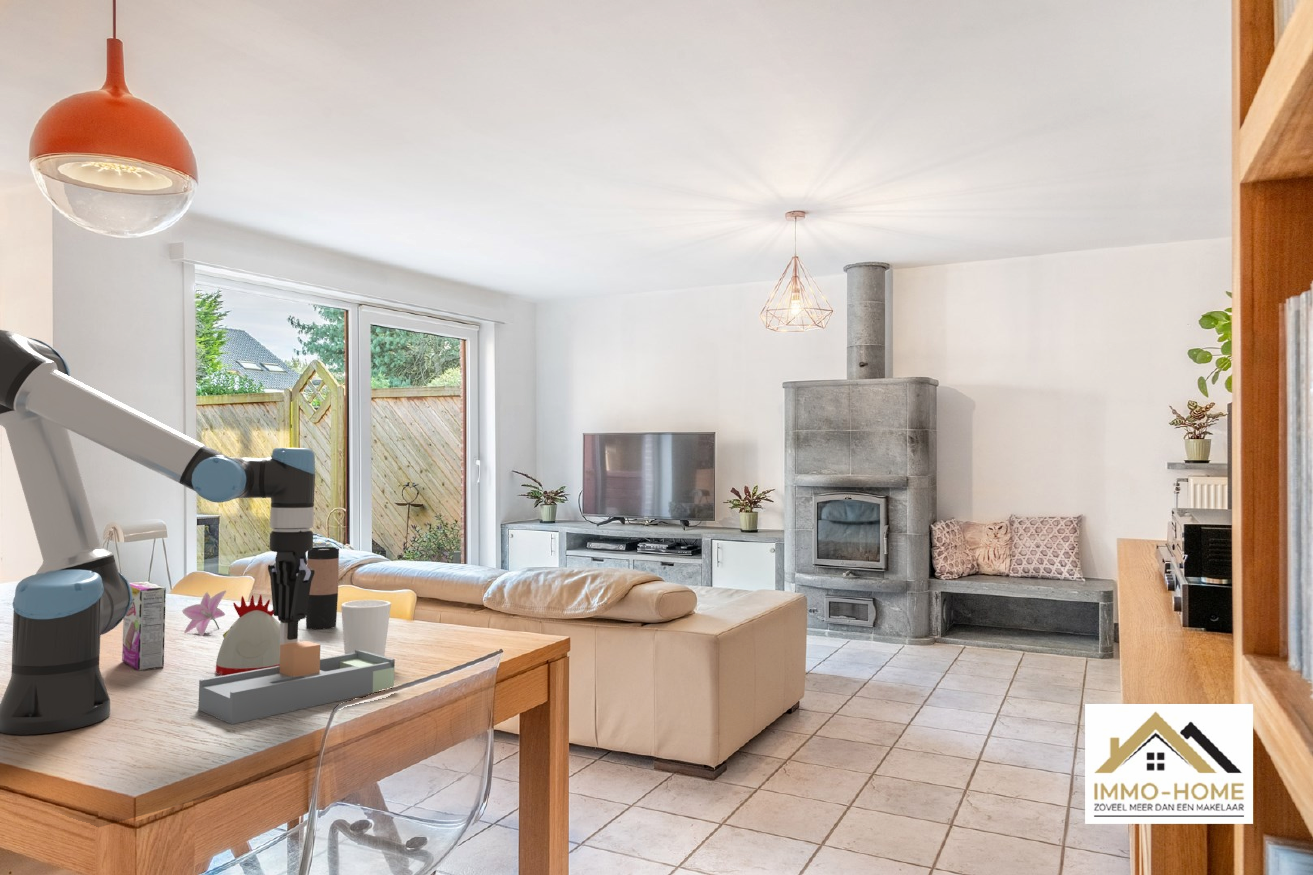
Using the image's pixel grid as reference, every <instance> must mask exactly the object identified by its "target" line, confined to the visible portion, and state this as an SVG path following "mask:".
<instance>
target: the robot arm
mask: <svg viewBox="0 0 1313 875" xmlns="http://www.w3.org/2000/svg"><path fill="white" fill-rule="evenodd" d="M0 426H2V428H4V429H5V432H6V436H7V440H8V443H9V447H10V449H11V454H12V457H13V460H14V464H15V467H16V471H17V474H18V477H19V481H20V485H21V487H22V490H23V491H22V492H23V495H24V498H25V502H26V504H27V509H28V513H29V516H30V519H31V522H32V527H33V529H34V532H35V536H36V539H37V540H36V541H37V543H38V546H39V550H40V554H41V556H42V564H41V565H40V566H39V568H38V570H37V571H36V572H35V574H32V575H30V576H29V575H28V576H27V577H24V578H23V579H22V580H20V581H19V582H18V583H17V585H16V586H15V592H14V597H13V600H12V608H13V616H12V617H13V618H12V619H13V620H12V646H11V648H12V649H11V675H10V679H9V682H8V684H7V687H6V688H5V692H4V693H3V696H2V698H1V701H0V733H3V734H7V735H19V736H20V735H40V734H51V733H52V734H53V733H57V732H64V731H70V730H75V729H79V728H84V727H87V726H90V725H94V724H96V723H99V722H101V721H103V720H105V719H107V718H109V717H110V715H111V699H110V698H111V697H110V695H109V693H108V690H107V687H106V684H105V682H104V678H103V675H102V673H101V670H100V669H101V668H100V655H101V636H103V635H105V634H107V633H109V632H110V631H112V630H114V629H116V627H117V626H118V625H119V624H120V623H121V622H123V618H124V617H125V616H126V614H127V613H128V611H129V609H130V606H131V603H132V590H131V586H130V584H129V583H130V582H129V581H128V579H127V578H126V577H125V575H123V574H122V573H120V572H119V569H118V566H117V562H116V558H115V556H114V553H113V552H112V551H109V550H108V549H106V548H104V547H102V546H101V543H100V539H99V536H98V532H97V528H96V525H95V522H94V518H93V515H92V511H91V508H90V505H89V501H88V498H87V494H86V490H85V486H84V484H83V479H82V477H81V473H80V469H79V467H78V466H79V465H78V463H77V459H76V458H77V457H76V455H75V452H74V448H73V444H72V441H71V438H70V434H69V431H70V432H73V433H75V434H77V435H79V436H81V437H84V438H85V439H88V441H89V440H90V441H91V442H93V443H96V444H98V445H100V446H102V447H104V448H107V449H108V450H110V451H112V452H115V453H117V454H118V455H121V456H123V457H124V458H127V459H129V460H131V461H133V462H135V463H136V464H139V465H141V466H143V467H146V468H148V469H149V470H152V471H154V472H156V473H158V474H160V475H161V476H164V477H166V478H168V479H170V480H172V481H174V482H177V483H178V484H180V485H182V486H184V487H185V488H188V489H189V490H191V491H195V493H196V494H197V495H198V496H200V497H201V498H202V499H204V500H206V501H208V502H209V501H210V502H212V503H218V504H219V503H226V502H229V501H232V500H235V499H270V502H271V503H270V509H269V510H270V516H269V517H270V518H269V520H270V522H269V528H270V529H272V530H271V532H270V533H269V550H270V552H273V553H274V552H275V553H276V555H275V558H274V559H275V561H274V563H273V564H268V565H267V571H268V574H269V578H270V590H271V602H272V610H273V617H277V619H278V620H277V621H278V622H279V623H280V645H282V644H289V643H295V642H299V641H298V640H299V622H300V621H301V620H306V612H307V606H308V600H309V594H310V587H311V581H312V579H313V576H314V573H315V571H314V569H308V567H307V553H308V551H310V550H312V548H314V531H312V530H310V529H312V528H313V527H314V516H315V511H314V510H315V508H314V506H315V489H316V488H315V486H316V456H315V455H316V454H315V452H314V451H313V450H312V449H310V448H305V447H274V448H273V450H272V454H271V455H270V457H259V458H258V457H239V456H238V457H234V456H231V457H230V456H227V455H225V454H223V453H222V452H219V451H218V450H216V449H215V448H212V447H209V446H207V445H205V444H203V443H202V442H200V441H198V440H195V439H194V438H192V437H189V436H188V435H185V434H183V433H182V432H180V431H177V430H176V429H174V428H172V427H170V426H168V425H166V424H164V423H161V422H160V421H158V420H156V419H154V418H152V417H150V416H148V415H146V414H144V413H143V412H140V411H138V410H136V409H134V408H132V407H130V406H128V405H126V404H124V403H122V402H120V401H118V400H116V399H114V398H112V397H110V396H109V395H107V394H105V393H102V392H101V391H98V390H97V389H94V388H92V387H90V386H89V385H86V384H84V383H83V382H81V381H78V380H76V379H74V378H73V377H71V374H70V368H69V365H68V364H67V361H66V360H65V358H64V357H63V356H62V355H61V354H60V352H59V351H57V350H56V349H55V348H54V347H52V346H50V345H49V344H47V343H46V342H45V341H41V340H39V339H36V338H32V337H27V336H24V335H20V334H18V333H15V332H12V331H9V330H5V329H0ZM279 657H280V650H279Z"/></svg>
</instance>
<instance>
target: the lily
mask: <svg viewBox="0 0 1313 875" xmlns="http://www.w3.org/2000/svg"><path fill="white" fill-rule="evenodd" d="M226 593H227V590H225V589H224V590H222V591H220V592H218V593H217V594H214V595H213V596H212V597H211V596H210V594H209V592H208V591H207V592H205V593H204V595H203V597H202V598H201V601H200V603H197V604H193V605H190V606H186V607H185V608H183V609H182V611H181V613H182V614H183V615H184V616H186V617H187V619H190V621H189V623H188V625H187V626H186V628H185V630H184V634H186V633H188V632H190V631H192V630H193V629H196V631H197V633H198V635H199V636H201V637H203V636H204V635H205V633H206V630H207V628H208V626H209V624H210V622H211V620H213V621H214V624H215V626H216V628H217V630H220V627H219V625H218V622H217V621H216V619H218V618H222V617H224V616H225V615H226V613H225V612H224V611H223V610H222V609H220V608H218V606H219V605H220V603H221V601H222V599H223V597H225V595H226Z"/></svg>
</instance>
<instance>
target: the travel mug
mask: <svg viewBox="0 0 1313 875" xmlns="http://www.w3.org/2000/svg"><path fill="white" fill-rule="evenodd" d="M339 556H340V548H339V547H338V548H337V547H334V546H316V547H314V546H313V548H312V550H310V551H307V555H306V558H307V565H306V566H307V567H308V569H314V571H315V573H314V576H313V579H312V581H311V587H310V594H309V600H308V606H307V612H306V618H305V627H306V629H308V628H309V629H308V630H316V629H319V630H327V629H328V630H329V629H334V628H335V627H337V616H338V615H337V614H338V600H339V570H340V568H339V567H340V566H339V563H340V560H339V559H340V557H339Z"/></svg>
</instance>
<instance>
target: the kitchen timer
mask: <svg viewBox="0 0 1313 875" xmlns="http://www.w3.org/2000/svg"><path fill="white" fill-rule="evenodd" d="M250 597H251V598H250V601H249V604H248V605H247V603H246V601H245V597H244V596H243V595H242V596H241V599H240V606H238V605H237V604H236V602H232V603H233V607H234V610H235V612H236V613H237V615H238V618H237V619H236V620H235V621H234V622H233V624H231V626H230V627H229V628H228V630H226V631H225V632H224V633H223V634H222V637H223V639H222V643H221V646H220V647H219V648H220V649H219V650H218V654H217V656H216V661H215V662H216V664H215V673H216V674H217V675H219V676H224V675H230V674H236V673H241V672H247V671H253V670H259V669H264V668H270V667H276V666H280V657H279V650H280V621H279V620H277V619H276V618H275V616H274V614H273V609H271V610H269V606H270V605H269V604H270V602H271V600H270V599H268V600H267V601H266V603H265V604H263V597H262V594H259V597H258V601H257V603H256V604H255V599H254V598H255V597H254V594H252V595H251V596H250Z"/></svg>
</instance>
